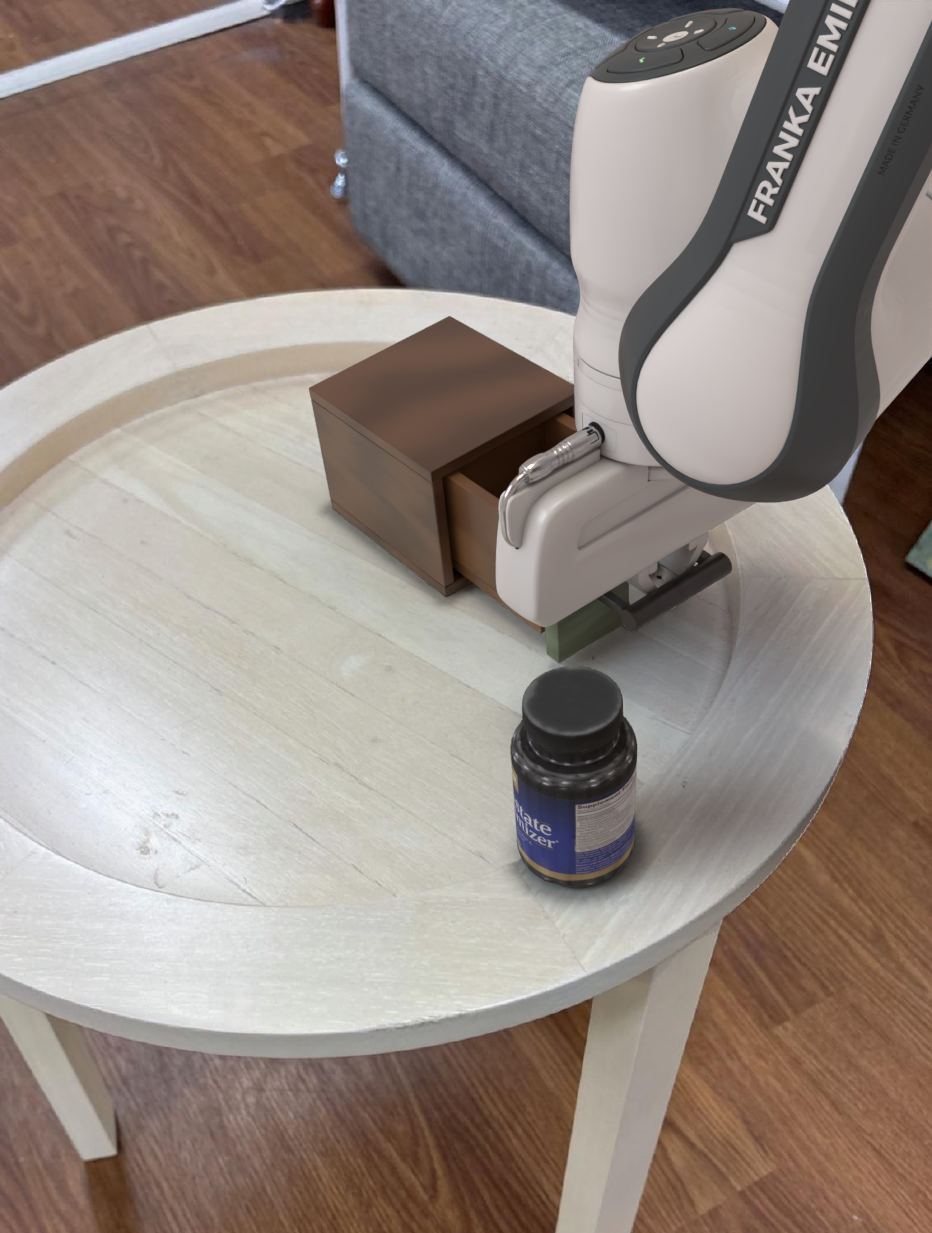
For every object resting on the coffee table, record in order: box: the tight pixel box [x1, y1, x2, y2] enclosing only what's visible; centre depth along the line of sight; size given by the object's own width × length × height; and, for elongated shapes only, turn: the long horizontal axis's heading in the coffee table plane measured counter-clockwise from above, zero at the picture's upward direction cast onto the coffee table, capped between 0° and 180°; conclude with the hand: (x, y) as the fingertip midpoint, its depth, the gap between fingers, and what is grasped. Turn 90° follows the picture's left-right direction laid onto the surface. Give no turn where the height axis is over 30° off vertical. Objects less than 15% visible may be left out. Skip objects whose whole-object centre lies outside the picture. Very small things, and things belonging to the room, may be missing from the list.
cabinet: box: [308, 315, 575, 597], centre depth 86 cm, size 14×12×10 cm
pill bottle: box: [509, 665, 638, 889], centre depth 65 cm, size 6×6×11 cm
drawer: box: [442, 412, 733, 664], centre depth 78 cm, size 17×10×8 cm, turn 33°
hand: (658, 601), depth 75 cm, fingers closed
